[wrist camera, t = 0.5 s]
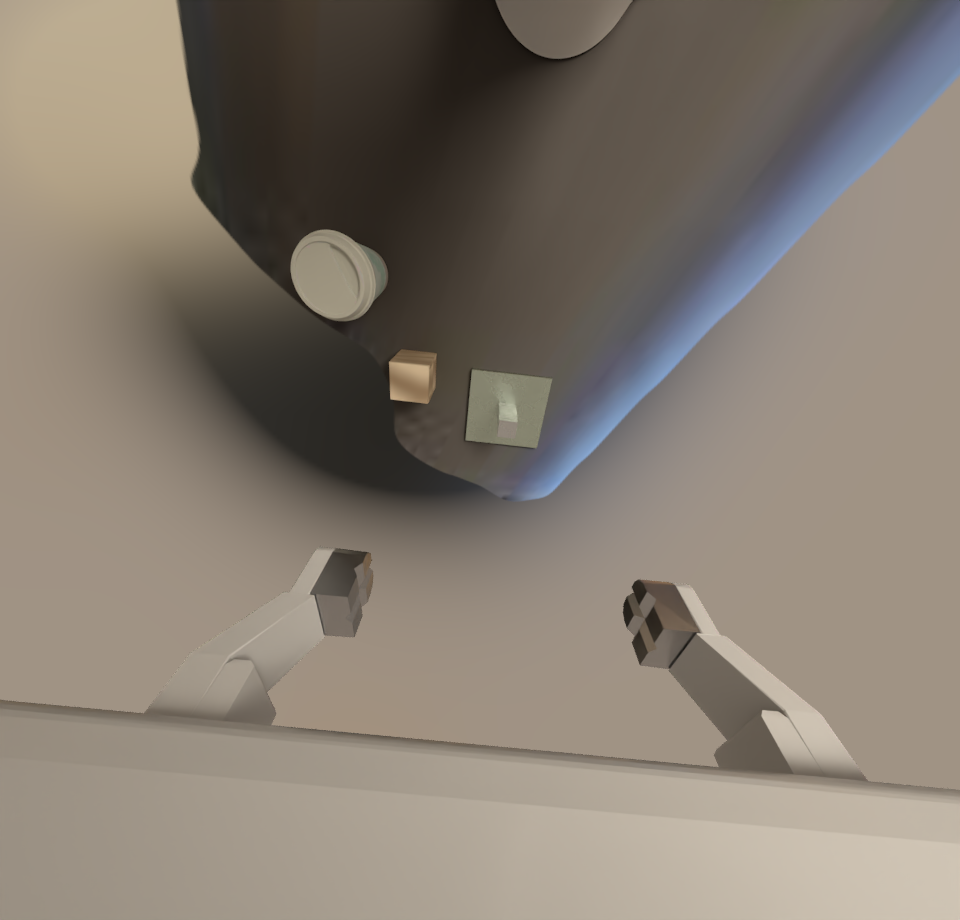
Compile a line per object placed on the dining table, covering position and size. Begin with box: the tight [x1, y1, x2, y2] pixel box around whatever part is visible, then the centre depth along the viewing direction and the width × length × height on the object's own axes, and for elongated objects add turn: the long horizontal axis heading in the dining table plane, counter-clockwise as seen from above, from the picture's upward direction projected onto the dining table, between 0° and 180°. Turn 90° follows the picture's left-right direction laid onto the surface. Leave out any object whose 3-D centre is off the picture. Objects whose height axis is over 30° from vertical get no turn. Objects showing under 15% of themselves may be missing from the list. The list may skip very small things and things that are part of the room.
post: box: [466, 368, 552, 448], centre depth 51 cm, size 12×12×7 cm
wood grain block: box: [389, 349, 437, 404], centre depth 48 cm, size 5×5×7 cm
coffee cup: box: [291, 230, 388, 321], centre depth 39 cm, size 8×8×12 cm
